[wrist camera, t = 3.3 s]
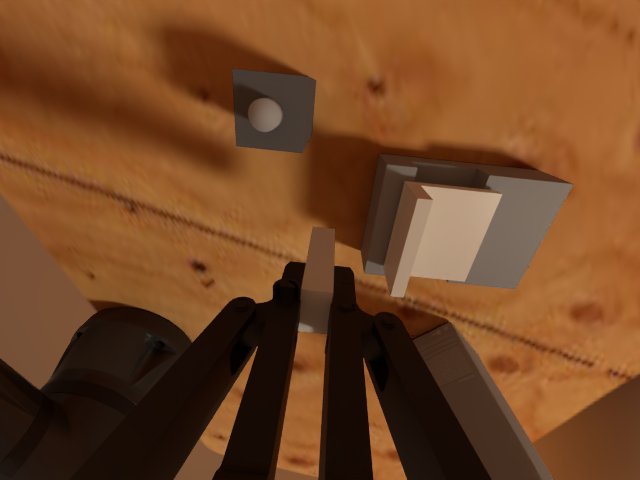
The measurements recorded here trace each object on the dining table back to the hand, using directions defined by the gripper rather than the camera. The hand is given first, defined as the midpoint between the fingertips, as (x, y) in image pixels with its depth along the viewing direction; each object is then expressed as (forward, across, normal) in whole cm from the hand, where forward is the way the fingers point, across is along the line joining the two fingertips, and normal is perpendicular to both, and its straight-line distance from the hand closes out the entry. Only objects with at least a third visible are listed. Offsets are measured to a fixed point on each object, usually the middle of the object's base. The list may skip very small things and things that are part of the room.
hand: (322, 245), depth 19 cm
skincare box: (+9, +17, -18) cm, 27 cm away
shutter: (+4, +9, 0) cm, 10 cm away
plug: (+9, -4, +8) cm, 12 cm away
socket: (+9, +11, 0) cm, 14 cm away
